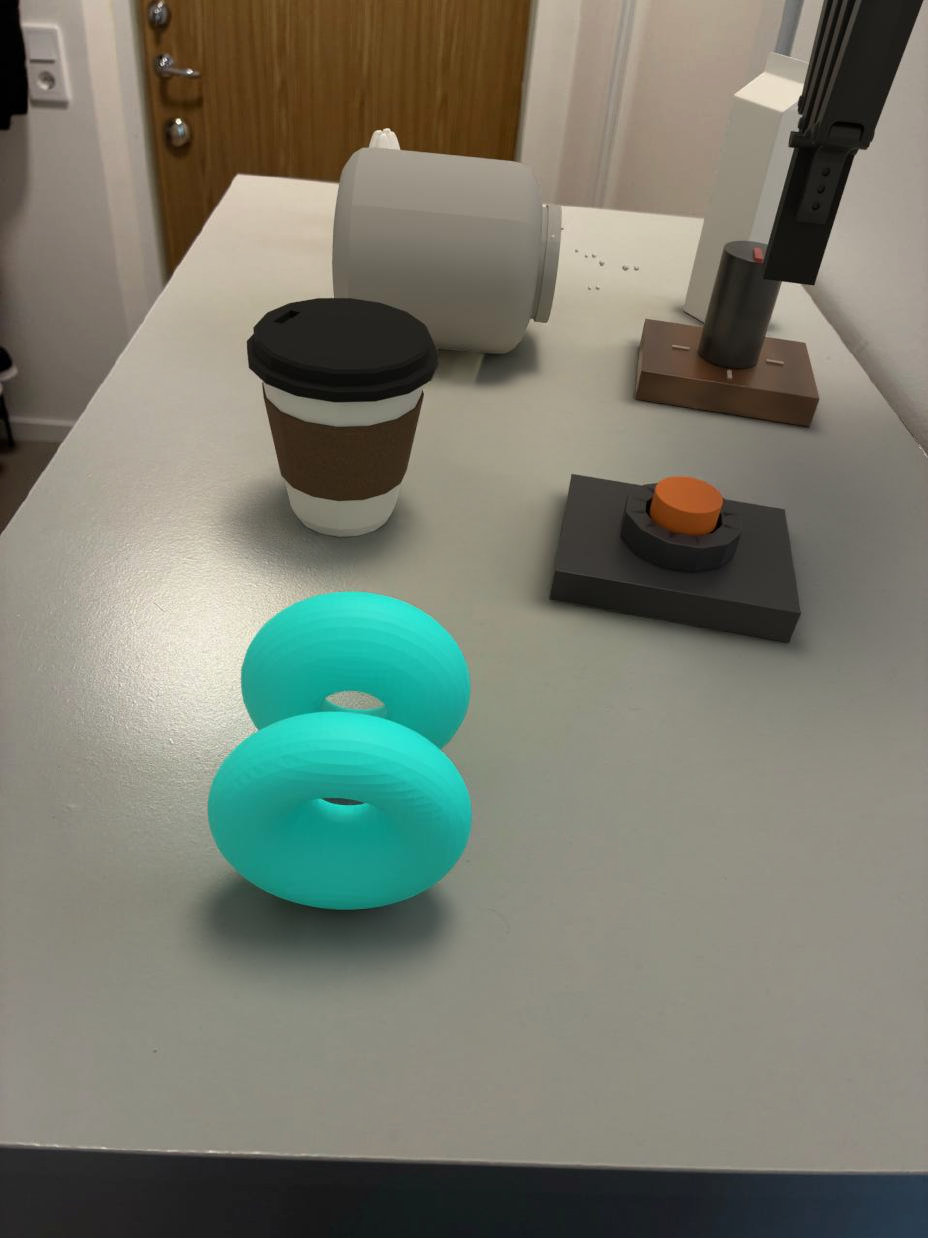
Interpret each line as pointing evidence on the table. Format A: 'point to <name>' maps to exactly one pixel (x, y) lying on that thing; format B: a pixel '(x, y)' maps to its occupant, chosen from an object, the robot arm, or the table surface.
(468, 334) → the jar
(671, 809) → the table surface
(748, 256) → the temp dial
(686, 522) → the power button
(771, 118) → the milk
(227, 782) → the donuts
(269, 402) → the coffee cup
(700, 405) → the dial panel
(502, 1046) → the table surface
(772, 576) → the grey button base
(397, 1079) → the table surface
